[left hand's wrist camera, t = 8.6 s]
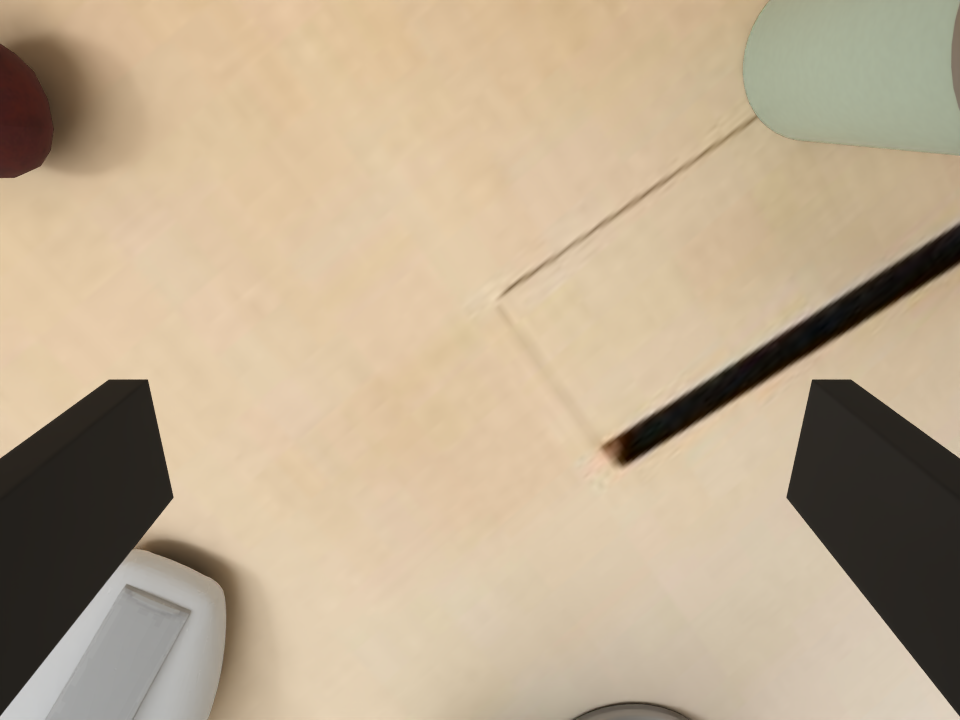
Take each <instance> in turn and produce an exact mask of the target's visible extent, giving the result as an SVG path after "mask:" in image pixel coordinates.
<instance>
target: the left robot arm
mask: <svg viewBox="0 0 960 720" xmlns="http://www.w3.org/2000/svg"><path fill="white" fill-rule="evenodd" d="M173 498H174V497H173V493H172V488H171V484H170V479H169V474H168V470H167V465H166V461H165V456H164V452H163V447H162V442H161V438H160V433H159V429H158V424H157V419H156V415H155V410H154V406H153V401H152V397H151V392H150V387H149V383H148V380H108V381H106V382H105V383H104V384H102V385H101V386H100V387H98V388H97V389H95V390H94V391H93V392H91V393H90V394H88V395H87V396H86V397H84V398H83V399H82V400H80V401H79V402H77V403H76V404H75V405H73V406H72V407H71V408H69V409H68V410H66V411H65V412H64V413H62V414H61V415H60V416H58V417H57V418H55V419H54V420H53V421H51V422H50V423H49V424H47V425H46V426H44V427H43V428H42V429H40V430H39V431H37V432H36V433H35V434H33V435H32V436H31V437H29V438H28V439H26V440H25V441H24V442H22V443H21V444H20V445H18V446H17V447H15V448H14V449H13V450H11V451H10V452H9V453H7V454H6V455H4V456H3V457H2V458H0V716H1V715H2V714H3V712H4V711H5V710H6V708H7V707H8V706H9V705H10V703H11V702H12V701H13V700H14V698H15V697H16V696H17V695H18V693H19V692H20V691H21V690H22V688H23V687H24V686H25V684H26V683H27V682H28V681H29V679H30V678H31V677H32V676H33V674H34V673H35V672H36V671H37V669H38V668H39V667H40V666H41V664H42V663H43V662H44V660H45V659H46V658H47V657H48V655H49V654H50V653H51V652H52V650H53V649H54V648H55V647H56V645H57V644H58V643H59V642H60V640H61V639H62V638H63V636H64V635H65V634H66V633H67V631H68V630H69V629H70V628H71V626H72V625H73V624H74V623H75V621H76V620H77V619H78V618H79V616H80V615H81V614H82V612H83V611H84V610H85V609H86V607H87V606H88V605H89V604H90V602H91V601H92V600H93V599H94V597H95V596H96V595H97V594H98V592H99V591H100V590H101V588H102V587H103V586H104V585H105V583H106V582H107V581H108V580H109V578H110V577H111V576H112V575H113V573H114V572H115V571H116V570H117V568H118V567H119V566H120V565H121V563H122V562H123V561H124V559H125V558H126V557H127V556H128V554H129V553H130V552H131V551H132V549H133V548H134V547H135V546H136V544H137V543H138V542H139V541H140V539H141V538H142V537H143V535H144V534H145V533H146V532H147V530H148V529H149V528H150V527H151V525H152V524H153V523H154V522H155V520H156V519H157V518H158V517H159V515H160V514H161V513H162V511H163V510H164V509H165V508H166V506H167V505H168V504H169V503H170V501H171V500H172V499H173ZM786 498H787V499H788V500H789V501H790V503H791V504H792V505H793V506H794V508H795V509H796V510H797V511H798V513H799V514H800V515H801V517H802V518H803V519H804V520H805V522H806V523H807V524H808V525H809V527H810V528H811V529H812V530H813V532H814V533H815V534H816V535H817V537H818V538H819V539H820V541H821V542H822V543H823V544H824V546H825V547H826V548H827V549H828V551H829V552H830V553H831V554H832V556H833V557H834V558H835V559H836V561H837V562H838V563H839V565H840V566H841V567H842V568H843V570H844V571H845V572H846V573H847V575H848V576H849V577H850V578H851V580H852V581H853V582H854V583H855V585H856V586H857V587H858V588H859V590H860V591H861V592H862V594H863V595H864V596H865V597H866V599H867V600H868V601H869V602H870V604H871V605H872V606H873V607H874V609H875V610H876V611H877V612H878V614H879V615H880V616H881V618H882V619H883V620H884V621H885V623H886V624H887V625H888V626H889V628H890V629H891V630H892V631H893V633H894V634H895V635H896V636H897V638H898V639H899V640H900V642H901V643H902V644H903V645H904V647H905V648H906V649H907V650H908V652H909V653H910V654H911V655H912V657H913V658H914V659H915V660H916V662H917V663H918V664H919V666H920V667H921V668H922V669H923V671H924V672H925V673H926V674H927V676H928V677H929V678H930V679H931V681H932V682H933V683H934V684H935V686H936V687H937V688H938V690H939V691H940V692H941V693H942V695H943V696H944V697H945V698H946V700H947V701H948V702H949V703H950V705H951V706H952V707H953V708H954V710H955V711H956V712H957V714H958V715H959V716H960V458H958V457H957V456H956V455H954V454H953V453H951V452H950V451H949V450H947V449H946V448H945V447H943V446H942V445H940V444H939V443H938V442H936V441H935V440H934V439H932V438H931V437H929V436H928V435H927V434H925V433H924V432H923V431H921V430H920V429H918V428H917V427H916V426H914V425H913V424H911V423H910V422H909V421H907V420H906V419H905V418H903V417H902V416H900V415H899V414H898V413H896V412H895V411H894V410H892V409H891V408H889V407H888V406H887V405H885V404H884V403H883V402H881V401H880V400H878V399H877V398H876V397H874V396H873V395H872V394H870V393H869V392H867V391H866V390H865V389H863V388H862V387H860V386H859V385H858V384H856V383H855V382H854V381H852V380H812V383H811V387H810V392H809V397H808V401H807V406H806V410H805V415H804V419H803V424H802V429H801V433H800V438H799V442H798V447H797V452H796V456H795V461H794V465H793V470H792V474H791V479H790V484H789V488H788V493H787V497H786ZM575 720H689V719H687V718H686V717H684V716H682V715H681V714H678V713H676V712H674V711H671V710H668V709H665V708H662V707H657V706H652V705H644V704H624V705H615V706H609V707H605V708H601V709H598V710H595V711H592V712H589V713H587V714H584V715H582V716H580V717H578V718H576V719H575Z"/></svg>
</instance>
